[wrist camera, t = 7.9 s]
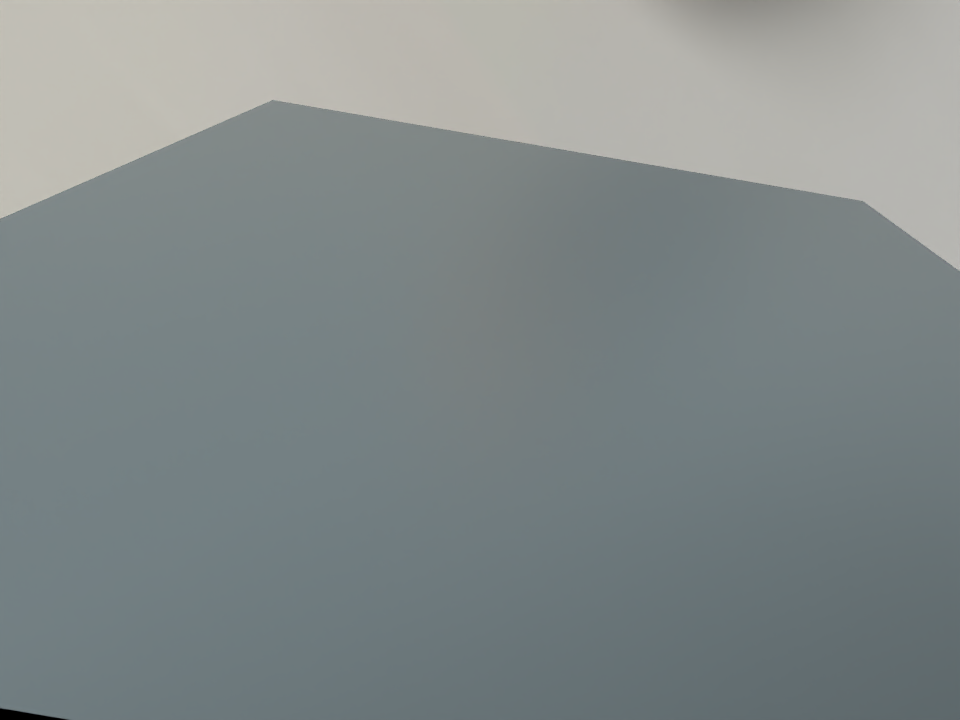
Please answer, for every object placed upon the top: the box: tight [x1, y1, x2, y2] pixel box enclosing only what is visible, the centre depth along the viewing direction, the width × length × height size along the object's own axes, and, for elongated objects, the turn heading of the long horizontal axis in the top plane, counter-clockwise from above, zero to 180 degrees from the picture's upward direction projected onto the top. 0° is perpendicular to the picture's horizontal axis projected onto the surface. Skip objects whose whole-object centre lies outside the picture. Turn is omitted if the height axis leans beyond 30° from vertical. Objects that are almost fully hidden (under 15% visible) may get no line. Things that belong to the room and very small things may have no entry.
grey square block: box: [0, 100, 960, 720], centre depth 8 cm, size 8×8×9 cm
